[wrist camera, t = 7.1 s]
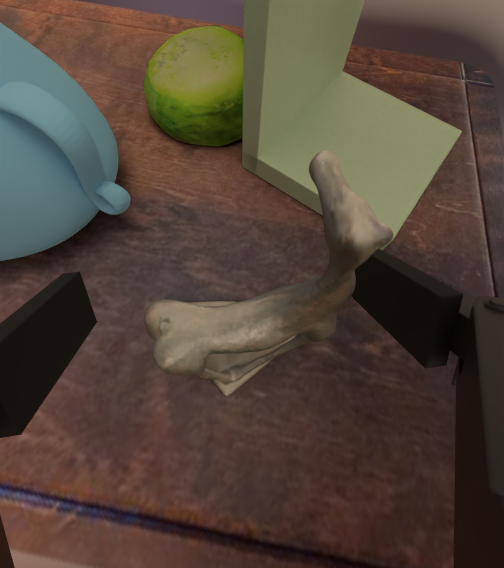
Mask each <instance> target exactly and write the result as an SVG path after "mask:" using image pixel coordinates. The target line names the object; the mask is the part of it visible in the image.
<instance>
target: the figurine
mask: <svg viewBox="0 0 504 568" xmlns="http://www.w3.org/2000/svg"><path fill="white" fill-rule="evenodd" d="M309 173H310V176H311V179H312V180H313V182H314V184H315V185H316V187H317V191H318V194H319V199H320V203H321V207H322V213H323V222H324V231H325V237H326V241H327V245H328V248H329V252H330V264H329V267H328V269H327V270H326V272H325V273H324V275H323V276H321V277H318V278H315V279H312V280H310V281H306V282H301V283H298V284H293V285H287V286H283V287H280V288H278V289H275V290H272V291H269V292H267V293H264V294H262V295H259V296H256V297H254V298H251V299H248V300H244V301H239V302H229V301H212V302H191V303H187V302H182V301H177V300H171V299H160V300H156V301H154V302H153V303H152V304H151V305H150V306H149V307H148V309H147V310H146V313H145V316H144V323H145V326H146V329H147V332H148V334H149V335H150V336H151V337H152V338H153V339H154V340H155V344H154V348H153V359H154V361H155V363H156V365H157V366H158V367H159V368H160V369H161V370H162V371H164V372H165V373H168V374H171V375H185V376H186V375H198V376H199V377H200V378H203V379H212V380H213V382H214V383H215V384H216V386H217V387H218V388H219V389H220V391H221V392H222V393H223V394H224V395H230V394H231V393H233V392H234V391H235V390H236V389H238V388H239V387H240V386H241V385H243V384H244V383H245V382H246V381H248V380H249V379H250V378H251V377H252V376H254V375H255V374H256V373H257V372H258V371H260V370H261V369H262V368H263V367H265V366H266V365H267V364H268V363H269V362H270V361H272V360H273V359H274V358H275V357H277V356H280V355H281V354H284V353H286V352H288V351H290V350H292V349H295V348H297V347H299V346H301V345H303V344H307V343H310V342H317V341H321V340H324V339H326V338H328V337H330V336H331V335H332V334H333V333H334V331H335V328H336V316H337V312H338V310H339V309H340V308H341V307H342V306H343V305H344V304H345V303H346V302H347V301H348V300H349V299H350V297H351V296H352V294H353V292H354V289H355V284H356V277H355V272H354V270H355V269H356V268H357V267H358V266H359V265H361V264H362V263H364V262H365V261H366V260H367V259H368V258H369V257H370V256H371V255H372V254H373V253H374V252H375V251H376V250H378V249H379V248H380V247H382V246H384V245H386V244H387V243H388V242H389V241H391V240H392V239H393V232H392V230H391V229H390V228H389V227H388V226H387V225H385V224H384V223H382V222H381V221H380V220H379V219H378V218H377V217H376V216H375V214H374V213H373V211H372V209H371V207H370V206H369V204H368V203H367V202H366V201H365V200H364V199H363V198H362V197H361V196H359V195H358V194H357V193H356V192H354V191H353V190H352V188H351V187H350V186H349V184H348V183H347V181H346V180H345V178H344V176H343V174H342V171H341V167H340V164H339V161H338V159H337V157H336V156H335V154H334V153H332V152H331V151H327V150H326V151H321V152H318V153H317V154H316V155H315V156H314V157H313V158H312V160H311V162H310V165H309Z"/></svg>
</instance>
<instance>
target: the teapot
mask: <svg viewBox="0 0 504 568" xmlns="http://www.w3.org/2000/svg"><path fill="white" fill-rule="evenodd" d="M118 160H119V158H118V147H117V142H116V139H115V136H114V134H113V132H112V130H111V128H110V126H109V124H108V122H107V121H106V119H105V117H104V116H103V114H102V113H101V111H100V110H99V109H98V107H97V106H96V105H95V103H94V102H93V101H92V99H91V98H90V97H89V96H88V94H87V93H86V92H85V91H84V90H83V88H82V87H81V86H80V85H79V84H78V83H77V82H76V81H75V80H74V79H73V78H72V77H71V76H70V75H69V74H67V73H66V72H65V71H64V70H63V69H62V68H61V67H60V66H59V65H57V64H56V63H55V62H54V61H52V60H51V59H50V58H49V57H47V56H46V55H45V54H43V53H42V52H41V51H39V50H38V49H37V48H35V47H34V46H32V45H31V44H30V43H28V42H27V41H26V40H24V39H23V38H21V37H20V36H19V35H17V34H16V33H14V32H13V31H11V30H10V29H9V28H7V27H6V26H4V25H3V24H1V23H0V261H3V260H9V259H14V258H20V257H24V256H28V255H31V254H34V253H38V252H41V251H44V250H46V249H48V248H51V247H53V246H56V245H57V244H59V243H61V242H63V241H65V240H67V239H68V238H70V237H71V236H73V235H74V234H76V233H77V232H79V231H80V230H81V229H82V228H83V227H85V226H86V225H87V224H88V223H89V222H90V221H91V220H92V219H93V218H94V217H95V215H96V214H97V213H98V211H99V210H101V211H103V212H105V213H107V214H112V215H118V214H121V213H123V212H125V211H126V210H127V209H128V207H129V205H130V201H131V197H130V195H129V193H128V192H127V191H126V190H125V189H124V188H122V187H121V186H119V185H117V184H115V183H114V182H115V180H116V176H117V171H118Z"/></svg>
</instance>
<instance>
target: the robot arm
mask: <svg viewBox="0 0 504 568" xmlns="http://www.w3.org/2000/svg"><path fill="white" fill-rule="evenodd" d="M354 272H355V277H356V284H355V289H354V292H353V294H352V297H353V298H354V299H355V300H356V301H357V302H358V303H359V304H360V305H361V306H362V307H363V308H364V309H365V310H366V311H367V312H368V313H369V314H370V315H371V316H372V317H373V318H374V319H375V320H376V321H377V322H378V323H379V324H380V325H381V326H382V327H383V328H384V329H386V330H387V331H388V332H389V333H390V334H391V335H392V336H393V337H394V338H395V339H396V340H397V341H398V342H399V343H400V344H401V345H402V346H403V347H404V348H405V349H406V350H407V351H408V352H409V353H410V354H411V355H412V356H413V357H414V358H415V359H416V360H417V361H418V362H419V363H420V364H421V365H423V366H424V367H425V368H432V367H438V366H444V365H446V364H447V360H448V356H449V351H450V350H451V351H452V352H453V353H454V354H456V355H457V356H458V357H459V358H458V362H457V366H456V370H455V374H454V377H453V381H452V384H453V385H456V431H455V508H454V568H504V298H499V297H488V296H487V297H479V298H475V297H473V296H471V295H469V294H467V293H465V292H463V291H461V290H460V289H458V288H456V287H452V285H450V284H448V283H446V282H445V283H444V281H442V280H441V279H439V278H437V277H435V276H432V275H429V274H425V273H424V272H422V271H420V270H418V269H416V268H414V267H412V266H411V265H409V264H407V263H405V262H403V261H401V260H399V259H397V258H396V257H394V256H392V255H390V254H388V253H386V252H384V251H383V250H381V249H378V250H376V251H375V252H374V253H373V254H372V255H371V256H370V257H369V258H368V259H367V260H366V261H365V262H364V263H362V264H361V265H359V266H358V267H357V268H356V269H355V270H354ZM96 323H97V321H96V318H95V315H94V312H93V309H92V306H91V303H90V300H89V297H88V294H87V291H86V288H85V286H84V283H83V280H82V277H81V274H80V272H73V273H64V274H62V275H60V276H59V277H58V278H57V279H55V280H54V281H53V282H52V283H50V284H49V285H48V286H47V287H45V288H44V289H43V290H42V291H40V292H39V293H38V294H37V295H36V296H34V297H33V298H32V299H31V300H29V301H28V302H27V303H26V304H24V305H23V306H22V307H21V308H19V309H18V310H17V311H16V312H14V313H13V314H12V315H11V316H9V317H8V318H7V319H6V320H4V321H3V322H2V323H1V324H0V438H3V437H9V436H15V435H21V434H22V432H23V431H24V429H25V428H26V426H27V425H28V423H29V422H30V420H31V419H32V417H33V416H34V414H35V413H36V411H37V410H38V408H39V407H40V406H41V404H42V403H43V401H44V400H45V398H46V397H47V395H48V394H49V392H50V391H51V389H52V388H53V386H54V385H55V383H56V382H57V380H58V379H59V377H60V376H61V374H62V373H63V371H64V370H65V369H66V367H67V366H68V364H69V363H70V361H71V360H72V358H73V357H74V355H75V354H76V352H77V351H78V349H79V348H80V346H81V345H82V343H83V342H84V340H85V339H86V337H87V336H88V334H89V333H90V332H91V330H92V329H93V327H94V326H95V324H96ZM0 568H15V567H14V564H13V560H12V556H11V553H10V549H9V545H8V542H7V538H6V534H5V531H4V527H3V523H2V520H1V516H0Z"/></svg>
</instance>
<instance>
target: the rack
mask: <svg viewBox="0 0 504 568" xmlns="http://www.w3.org/2000/svg"><path fill="white" fill-rule="evenodd" d="M364 1H365V0H244V55H243V138H242V167H244V168H245V169H247V170H249V171H250V172H252V173H253V174H255V175H257V176H259V177H260V178H262V179H263V180H265V181H267V182H268V183H270V184H272V185H273V186H275V187H276V188H278V189H280V190H281V191H283V192H285V193H286V194H288V195H289V196H291V197H293V198H294V199H296V200H298V201H299V202H301V203H302V204H304V205H306V206H307V207H309V208H311V209H312V210H314V211H315V212H317V213H319V214H320V215H322V216H323V213H322V207H321V203H320V199H319V194H318V191H317V187H316V185H315V184H314V182H313V180H312V179H311V176H310V173H309V165H310V162H311V160H312V158H313V157H314V156H315V155H316V154H317V153H318V152H321V151H326V150H327V151H331V152H332V153H334V154H335V156H336V157H337V159H338V161H339V164H340V167H341V171H342V174H343V176H344V178H345V180H346V181H347V183H348V184H349V186H350V187H351V188H352V190H353V191H354V192H356V193H357V194H358V195H359V196H361V197H362V198H363V199H364V200H365V201H366V202H367V203H368V204H369V206H370V207H371V209H372V211H373V213H374V214H375V216H376V217H377V218H378V219H379V220H380V221H381V222H382V223H384V224H385V225H387V226H388V227H389V228H390V229H391V230H392V232H393V239H394V237H395V236H396V234H397V233H398V231H399V230H400V228H401V226H402V225H403V223H404V222H405V220H406V219H407V217H408V215H409V214H410V212H411V211H412V209H413V208H414V206H415V205H416V203H417V201H418V200H419V198H420V197H421V195H422V194H423V192H424V190H425V189H426V187H427V186H428V184H429V183H430V181H431V179H432V178H433V176H434V175H435V173H436V172H437V170H438V169H439V167H440V165H441V164H442V162H443V161H444V159H445V158H446V156H447V154H448V153H449V151H450V150H451V148H452V147H453V145H454V143H455V142H456V140H457V139H458V137H459V136H460V134H461V133H462V131H461V130H459V129H457V128H455V127H453V126H451V125H449V124H447V123H445V122H443V121H441V120H439V119H437V118H435V117H433V116H431V115H429V114H427V113H425V112H423V111H421V110H419V109H417V108H415V107H413V106H411V105H409V104H407V103H405V102H403V101H401V100H399V99H397V98H395V97H393V96H391V95H389V94H387V93H385V92H383V91H381V90H379V89H377V88H375V87H373V86H371V85H369V84H367V83H365V82H363V81H361V80H359V79H357V78H355V77H353V76H351V75H349V74H347V73H345V72H343V68H344V64H345V61H346V58H347V55H348V52H349V48H350V45H351V42H352V39H353V35H354V33H355V29H356V26H357V23H358V19H359V17H360V14H361V10H362V7H363V3H364ZM393 239H392V240H393ZM392 240H391V241H392ZM391 241H389V242H388V243H387V244H386V245H384V246H382V247H380V248H379V249H381V250H384V248H385V247H386V246H387V245H388V244H389V243H390V242H391Z"/></svg>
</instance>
